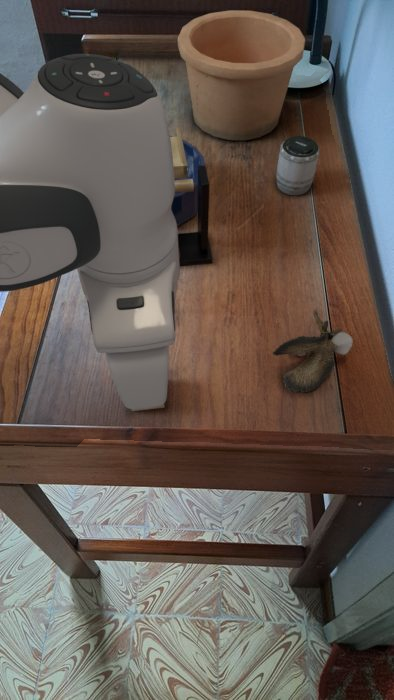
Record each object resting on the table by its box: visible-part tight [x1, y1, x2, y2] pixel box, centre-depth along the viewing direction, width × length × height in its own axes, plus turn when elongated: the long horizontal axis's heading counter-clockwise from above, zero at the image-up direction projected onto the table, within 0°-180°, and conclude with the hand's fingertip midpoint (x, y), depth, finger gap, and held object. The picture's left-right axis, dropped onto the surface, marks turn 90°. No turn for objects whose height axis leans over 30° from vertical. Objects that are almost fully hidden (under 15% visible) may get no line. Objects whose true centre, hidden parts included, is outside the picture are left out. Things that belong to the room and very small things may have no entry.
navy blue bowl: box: [170, 135, 207, 226], centre depth 83 cm, size 17×17×6 cm
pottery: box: [177, 9, 306, 142], centre depth 93 cm, size 22×22×14 cm
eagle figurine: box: [272, 308, 354, 394], centre depth 63 cm, size 8×7×9 cm
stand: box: [178, 166, 213, 267], centre depth 72 cm, size 15×6×14 cm, turn 98°
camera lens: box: [276, 135, 321, 196], centre depth 84 cm, size 6×6×8 cm
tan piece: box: [170, 127, 194, 259], centre depth 67 cm, size 10×25×4 cm, turn 8°
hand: (144, 351), depth 55 cm, fingers open, 8 cm apart
